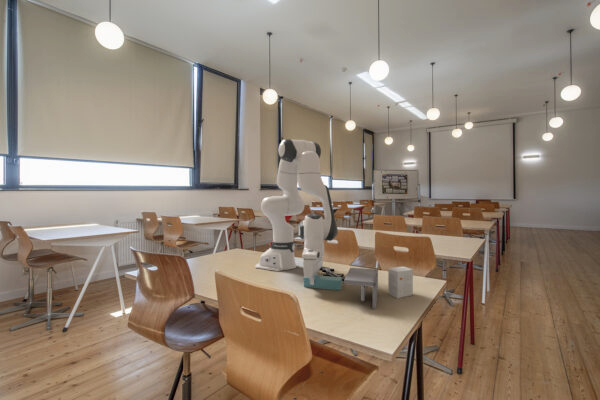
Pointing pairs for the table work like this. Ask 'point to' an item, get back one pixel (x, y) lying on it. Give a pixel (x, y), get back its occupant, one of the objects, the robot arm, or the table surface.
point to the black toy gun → (331, 273)
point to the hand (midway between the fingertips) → (314, 282)
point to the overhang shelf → (364, 281)
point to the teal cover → (324, 282)
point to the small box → (400, 281)
